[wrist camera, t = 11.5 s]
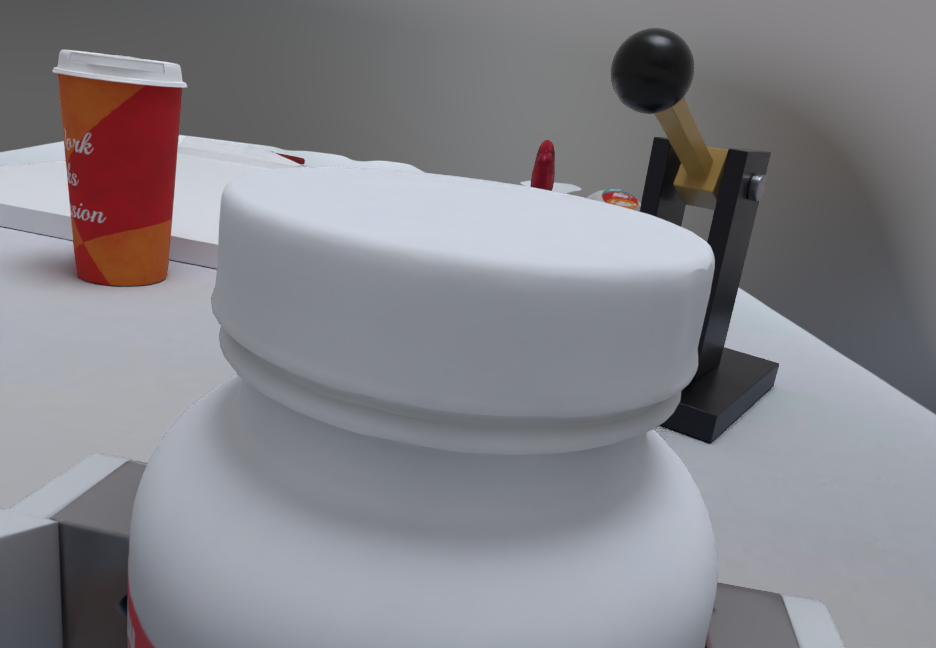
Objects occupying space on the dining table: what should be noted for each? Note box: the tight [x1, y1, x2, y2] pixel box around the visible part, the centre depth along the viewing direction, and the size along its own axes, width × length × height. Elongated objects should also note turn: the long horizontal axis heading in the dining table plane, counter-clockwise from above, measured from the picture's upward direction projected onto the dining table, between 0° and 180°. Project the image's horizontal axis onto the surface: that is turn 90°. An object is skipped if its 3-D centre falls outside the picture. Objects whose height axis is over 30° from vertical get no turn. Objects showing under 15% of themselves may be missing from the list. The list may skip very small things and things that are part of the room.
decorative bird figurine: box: [531, 140, 555, 191], centre depth 101 cm, size 3×18×10 cm, turn 172°
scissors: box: [270, 151, 305, 164], centre depth 122 cm, size 5×14×1 cm, turn 41°
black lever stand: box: [640, 137, 779, 443], centre depth 43 cm, size 12×10×14 cm
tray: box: [0, 137, 305, 269], centre depth 79 cm, size 45×45×4 cm
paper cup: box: [52, 50, 187, 286], centre depth 50 cm, size 8×8×14 cm
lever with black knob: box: [611, 28, 728, 210], centre depth 37 cm, size 14×3×3 cm, turn 144°
